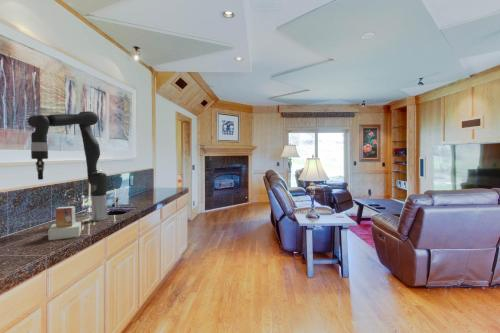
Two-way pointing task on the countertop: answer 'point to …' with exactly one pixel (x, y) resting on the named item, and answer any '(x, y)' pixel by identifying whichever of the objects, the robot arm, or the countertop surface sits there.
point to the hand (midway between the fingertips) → (40, 179)
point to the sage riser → (64, 231)
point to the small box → (65, 216)
